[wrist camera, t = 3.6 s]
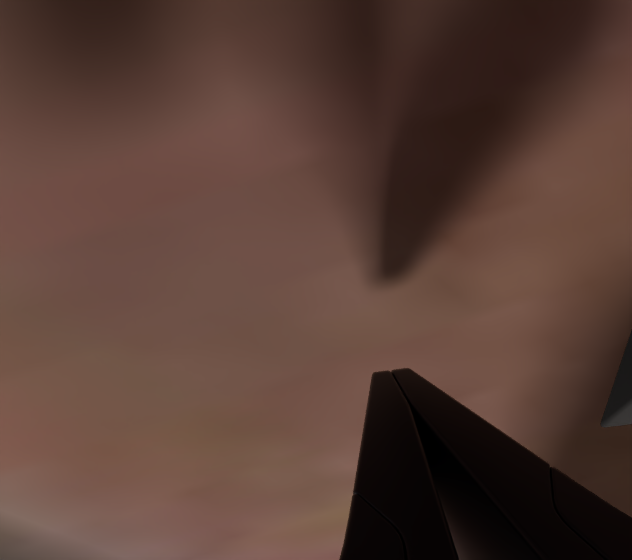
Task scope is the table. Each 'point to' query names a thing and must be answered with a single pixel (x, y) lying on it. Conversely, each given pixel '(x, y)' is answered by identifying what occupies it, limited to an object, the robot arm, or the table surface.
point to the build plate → (621, 393)
